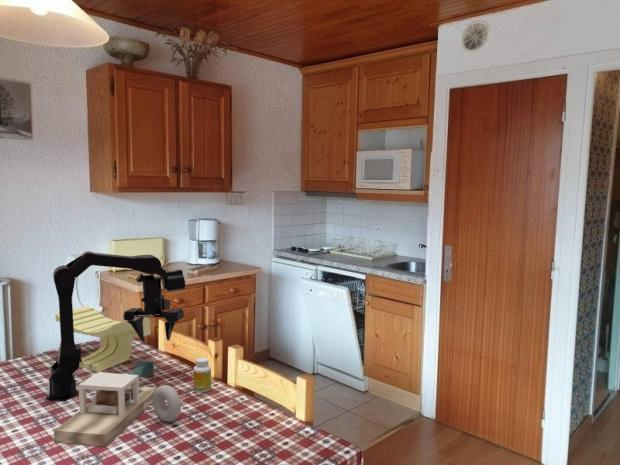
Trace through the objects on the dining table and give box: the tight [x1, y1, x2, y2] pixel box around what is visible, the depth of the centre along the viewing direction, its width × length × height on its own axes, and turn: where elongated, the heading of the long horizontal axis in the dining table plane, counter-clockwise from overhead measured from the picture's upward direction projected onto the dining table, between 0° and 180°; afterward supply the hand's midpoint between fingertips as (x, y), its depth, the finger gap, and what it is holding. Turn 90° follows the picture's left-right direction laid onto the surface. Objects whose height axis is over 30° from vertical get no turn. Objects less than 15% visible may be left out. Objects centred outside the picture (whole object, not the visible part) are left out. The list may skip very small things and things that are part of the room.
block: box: [95, 390, 118, 405], centre depth 136 cm, size 5×5×5 cm
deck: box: [53, 385, 158, 448], centre depth 136 cm, size 14×29×3 cm, turn 172°
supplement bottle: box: [193, 357, 212, 393], centre depth 156 cm, size 5×5×10 cm
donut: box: [152, 384, 182, 423], centre depth 134 cm, size 10×4×10 cm, turn 55°
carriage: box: [87, 359, 156, 414], centre depth 144 cm, size 8×25×6 cm, turn 172°
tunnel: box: [78, 371, 140, 417], centre depth 135 cm, size 12×9×8 cm
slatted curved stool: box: [55, 305, 152, 372], centre depth 179 cm, size 30×16×18 cm, turn 63°
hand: (155, 340), depth 162 cm, fingers open, 9 cm apart
